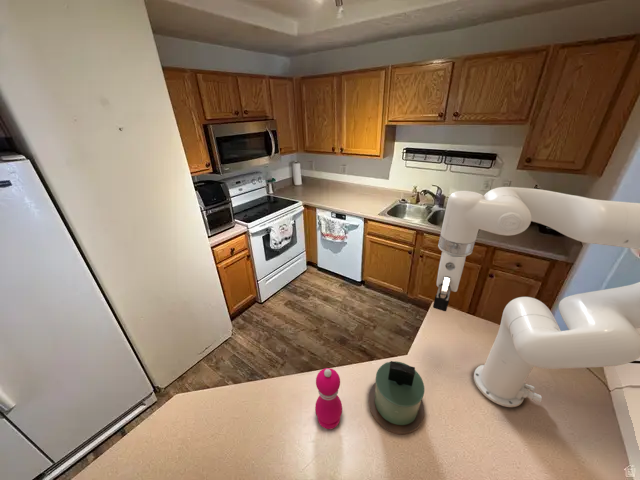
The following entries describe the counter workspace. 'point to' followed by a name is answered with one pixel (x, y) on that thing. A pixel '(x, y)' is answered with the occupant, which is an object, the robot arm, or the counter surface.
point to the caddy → (398, 392)
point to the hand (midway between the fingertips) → (442, 297)
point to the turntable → (390, 426)
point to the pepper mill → (328, 398)
